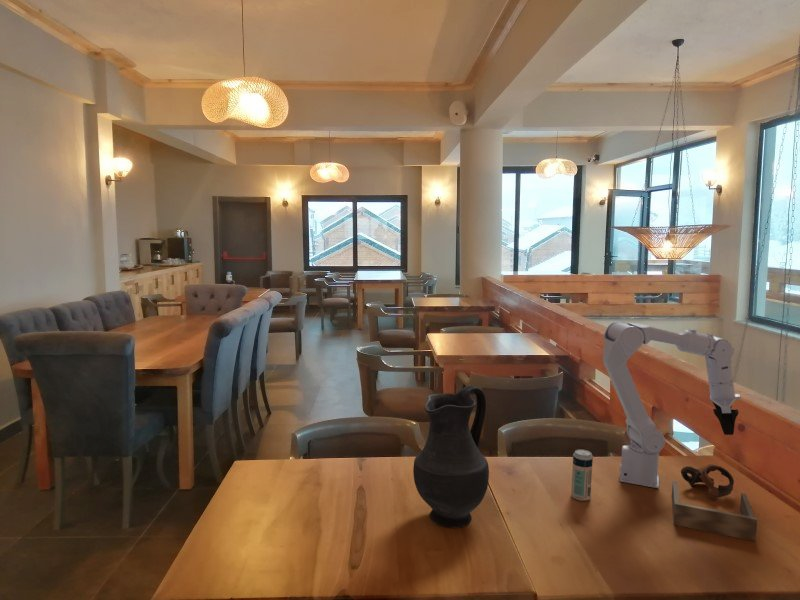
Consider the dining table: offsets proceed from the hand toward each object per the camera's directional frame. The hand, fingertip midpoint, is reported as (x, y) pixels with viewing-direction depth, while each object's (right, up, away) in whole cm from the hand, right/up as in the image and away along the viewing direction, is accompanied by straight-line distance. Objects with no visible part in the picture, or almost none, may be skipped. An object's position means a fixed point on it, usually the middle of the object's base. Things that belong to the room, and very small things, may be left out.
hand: (727, 428), depth 147 cm
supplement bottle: (-43, -16, -9) cm, 47 cm away
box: (-15, -17, -18) cm, 29 cm away
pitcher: (-76, -16, -18) cm, 80 cm away
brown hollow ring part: (-9, -16, -5) cm, 19 cm away
